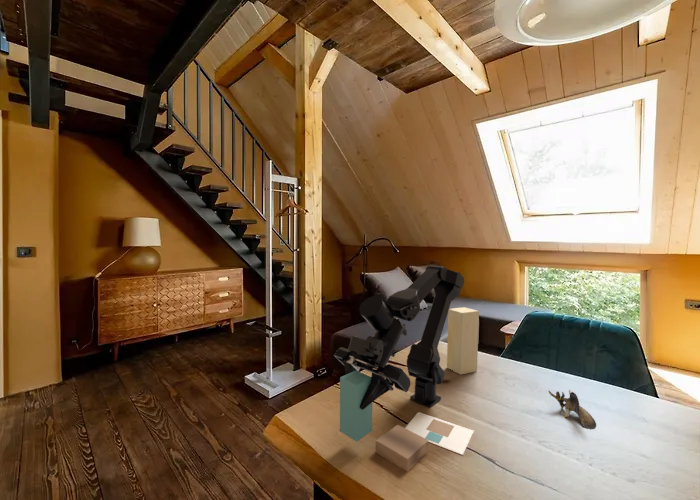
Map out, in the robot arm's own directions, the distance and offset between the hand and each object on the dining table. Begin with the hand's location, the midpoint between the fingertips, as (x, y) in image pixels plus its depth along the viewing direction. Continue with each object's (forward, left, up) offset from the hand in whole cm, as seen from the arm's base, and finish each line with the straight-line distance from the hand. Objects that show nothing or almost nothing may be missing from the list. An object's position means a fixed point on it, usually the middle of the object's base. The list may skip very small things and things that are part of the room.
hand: (351, 403), depth 68 cm
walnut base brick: (-8, +8, -11) cm, 15 cm away
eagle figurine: (-50, +32, -11) cm, 60 cm away
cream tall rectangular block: (-58, -2, -11) cm, 58 cm away
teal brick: (-1, 0, -7) cm, 7 cm away
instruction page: (-20, +10, -10) cm, 24 cm away
